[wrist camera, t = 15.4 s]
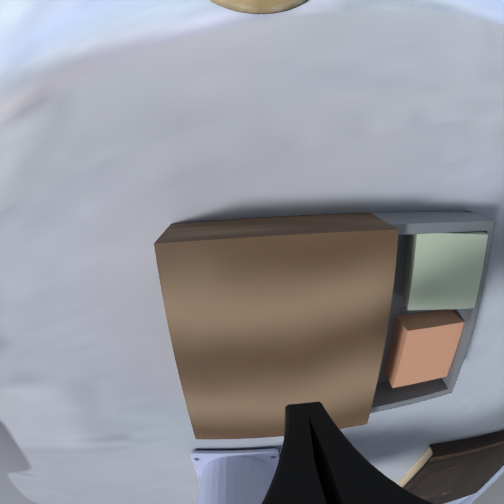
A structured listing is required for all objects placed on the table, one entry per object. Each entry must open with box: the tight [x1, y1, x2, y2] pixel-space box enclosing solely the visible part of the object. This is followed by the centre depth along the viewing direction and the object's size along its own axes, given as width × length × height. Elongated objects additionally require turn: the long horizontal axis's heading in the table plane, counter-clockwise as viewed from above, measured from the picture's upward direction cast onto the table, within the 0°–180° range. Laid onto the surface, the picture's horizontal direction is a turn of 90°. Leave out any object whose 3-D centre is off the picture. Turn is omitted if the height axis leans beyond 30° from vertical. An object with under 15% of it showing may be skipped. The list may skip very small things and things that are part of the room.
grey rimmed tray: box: [370, 211, 494, 413], centre depth 20 cm, size 14×8×3 cm, turn 3°
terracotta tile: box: [384, 309, 464, 388], centre depth 21 cm, size 5×5×2 cm
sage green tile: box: [401, 231, 488, 310], centre depth 18 cm, size 5×5×2 cm
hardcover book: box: [397, 430, 504, 504], centre depth 30 cm, size 16×23×2 cm
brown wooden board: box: [154, 213, 399, 439], centre depth 19 cm, size 14×12×4 cm
